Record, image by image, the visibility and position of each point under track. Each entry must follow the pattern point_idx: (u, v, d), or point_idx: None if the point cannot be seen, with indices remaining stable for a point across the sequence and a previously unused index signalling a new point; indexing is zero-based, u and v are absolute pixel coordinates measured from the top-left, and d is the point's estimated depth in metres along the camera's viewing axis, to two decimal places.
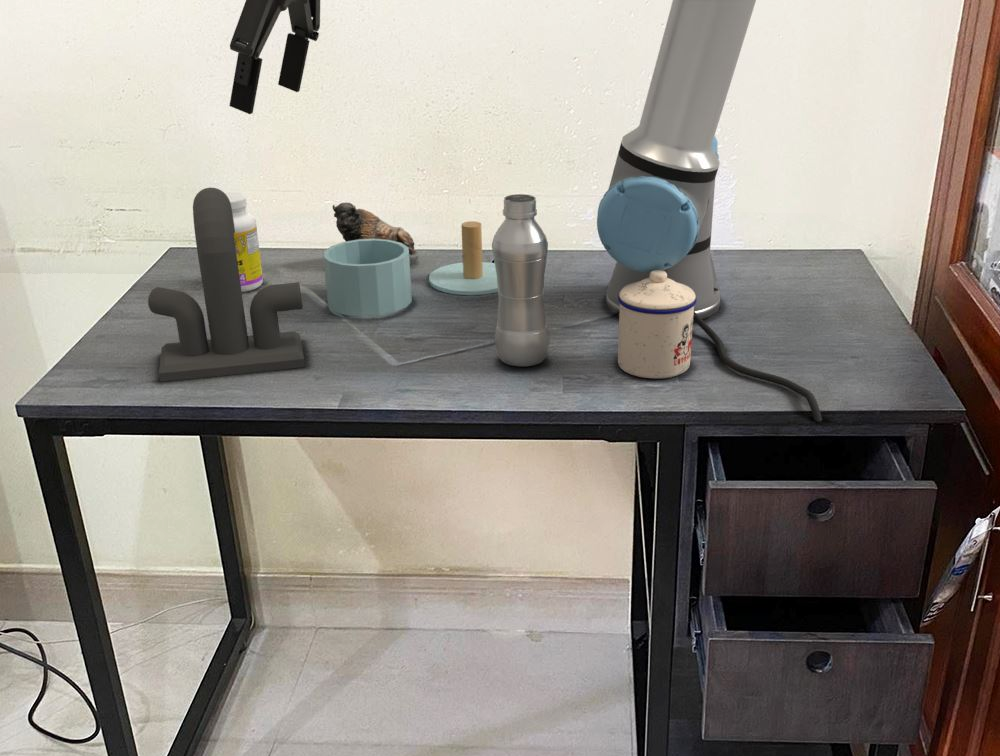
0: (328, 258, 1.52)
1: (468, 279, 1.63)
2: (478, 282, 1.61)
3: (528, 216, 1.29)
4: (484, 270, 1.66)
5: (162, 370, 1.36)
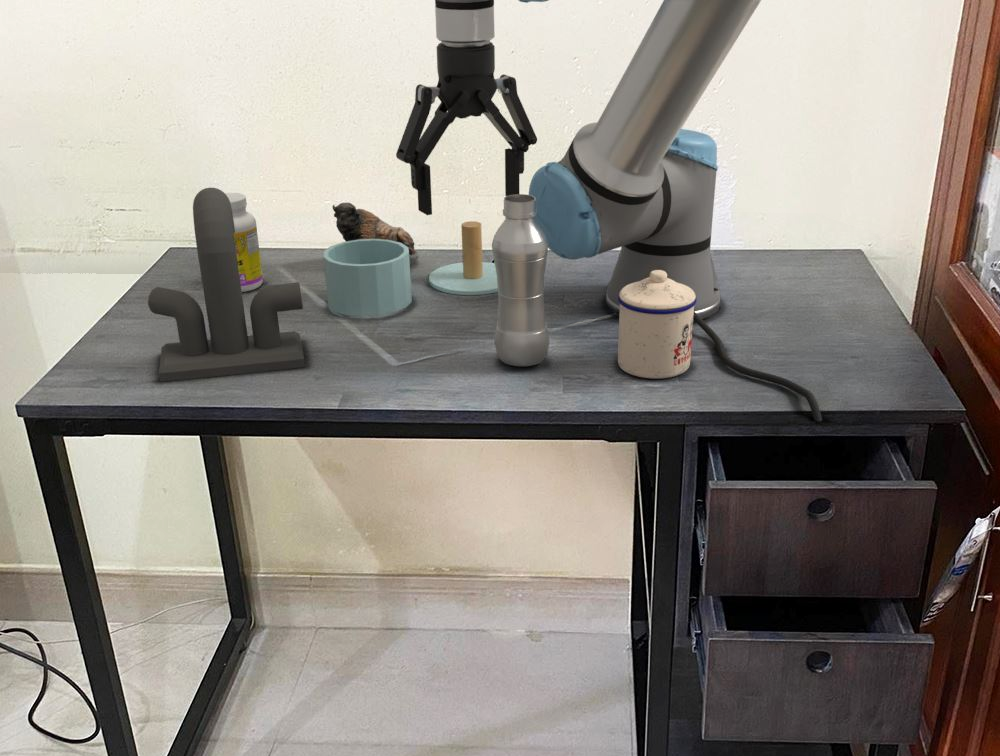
0: (328, 258, 1.52)
1: (468, 279, 1.63)
2: (478, 282, 1.61)
3: (528, 216, 1.29)
4: (484, 270, 1.66)
5: (162, 370, 1.36)
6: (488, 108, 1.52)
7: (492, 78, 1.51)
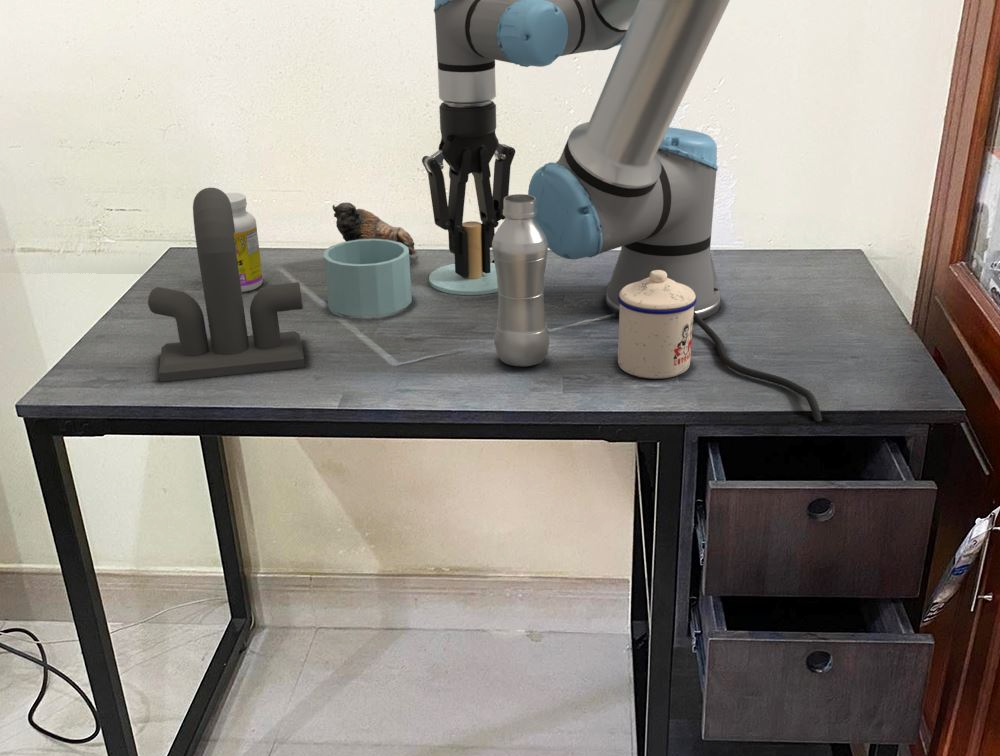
0: (328, 258, 1.52)
1: (468, 279, 1.63)
2: (478, 282, 1.61)
3: (528, 216, 1.29)
4: None
5: (162, 370, 1.36)
6: (482, 168, 1.55)
7: (494, 135, 1.55)
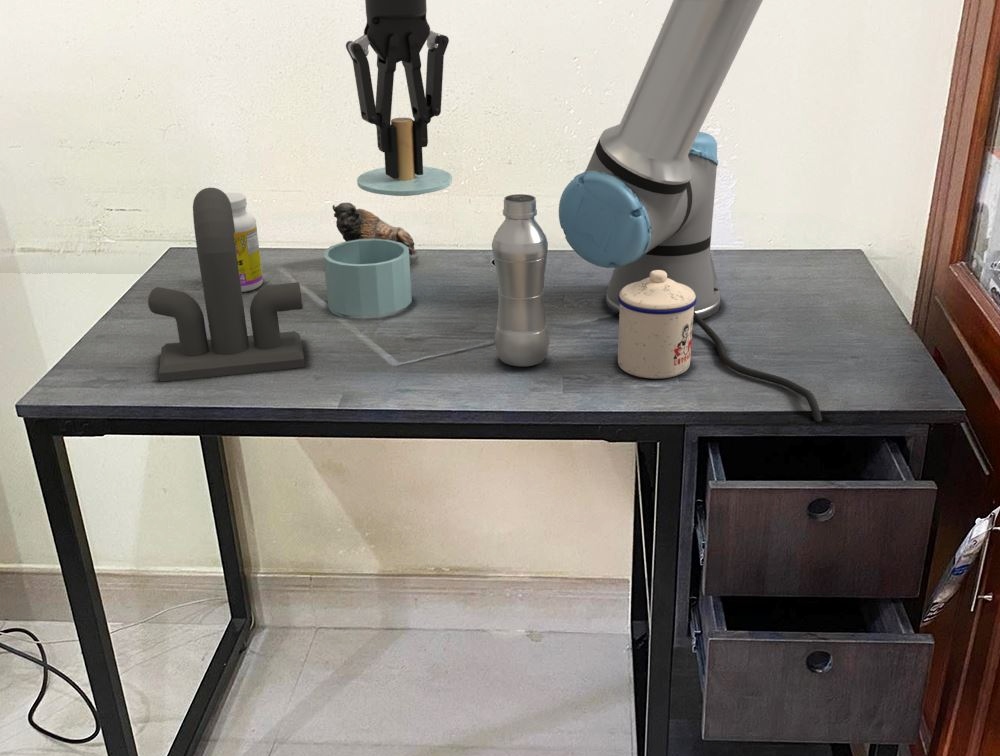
0: (328, 258, 1.52)
1: (398, 180, 1.51)
2: (408, 183, 1.50)
3: (528, 216, 1.29)
4: None
5: (162, 370, 1.36)
6: (412, 56, 1.44)
7: (424, 21, 1.43)
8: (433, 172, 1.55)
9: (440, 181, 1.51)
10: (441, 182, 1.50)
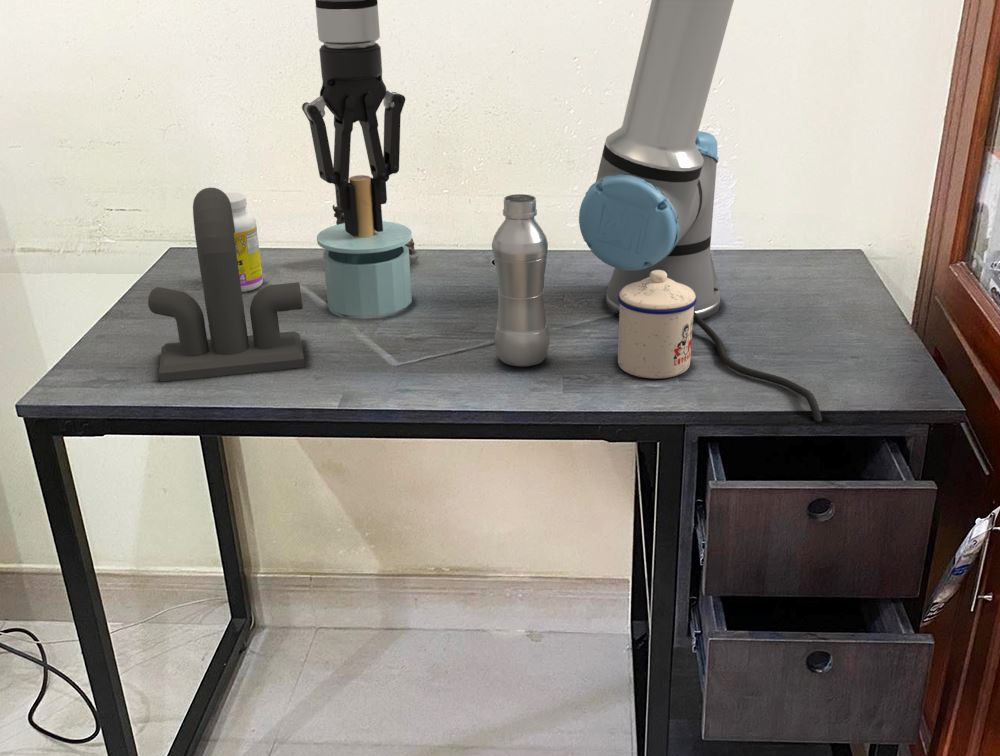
0: (328, 258, 1.52)
1: (358, 237, 1.52)
2: (368, 240, 1.50)
3: (528, 216, 1.29)
4: None
5: (162, 370, 1.36)
6: (368, 116, 1.44)
7: (380, 81, 1.44)
8: (393, 228, 1.55)
9: (400, 238, 1.51)
10: (401, 239, 1.51)
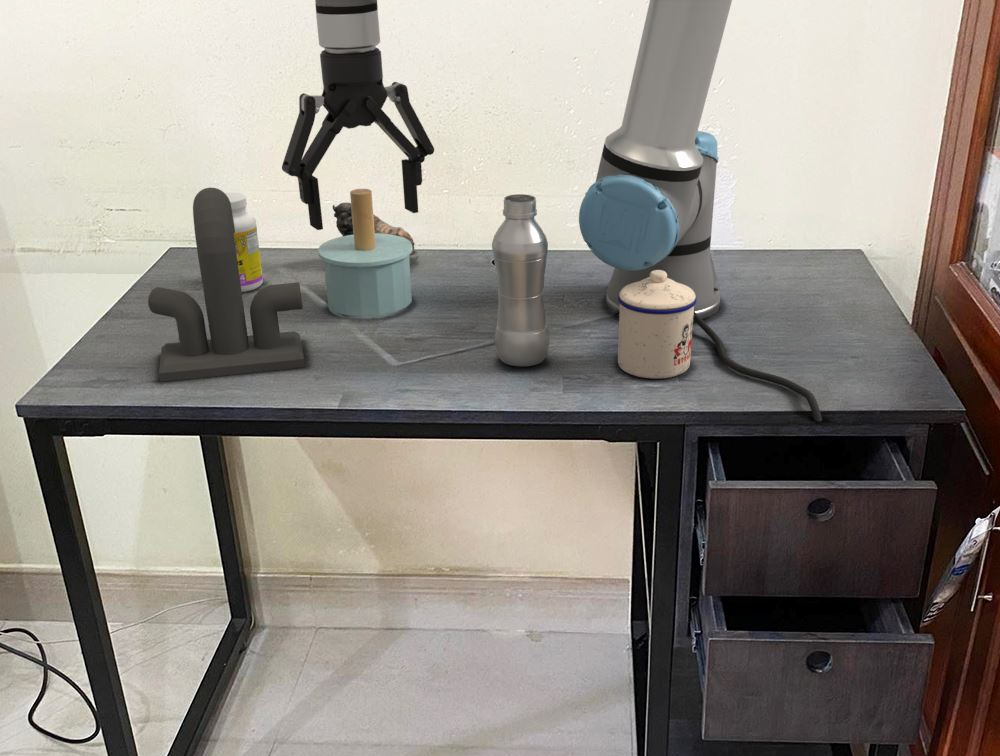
0: None
1: (359, 250, 1.53)
2: (369, 253, 1.51)
3: (528, 216, 1.29)
4: (378, 241, 1.56)
5: (162, 370, 1.36)
6: (378, 117, 1.45)
7: (381, 86, 1.44)
8: (394, 240, 1.56)
9: (400, 250, 1.52)
10: (401, 252, 1.52)
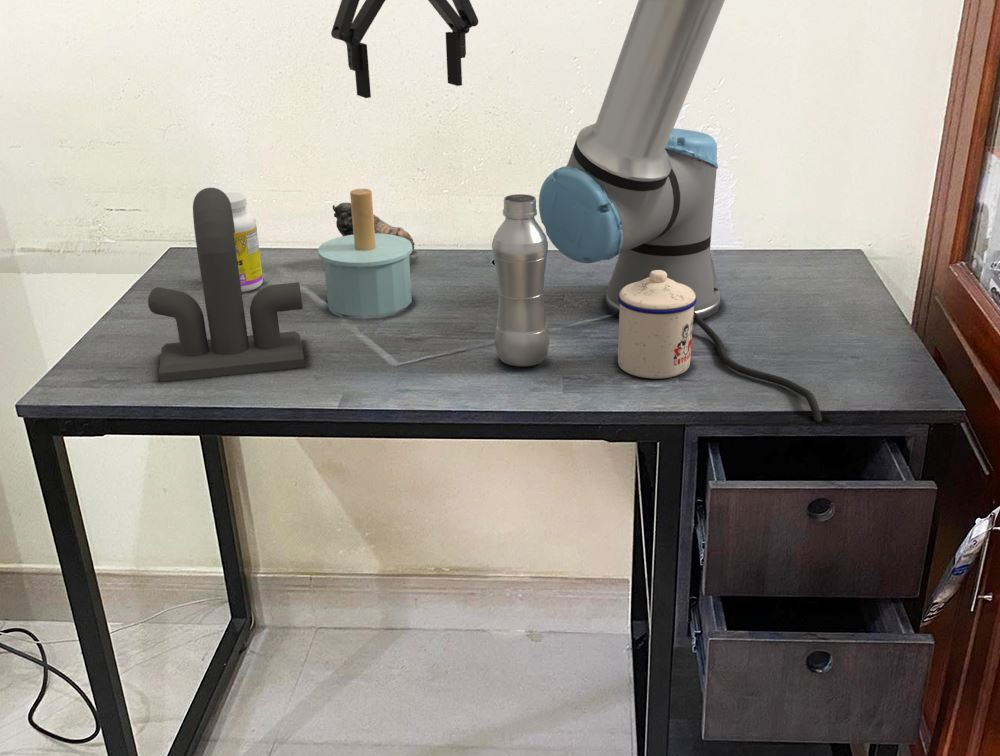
0: None
1: (359, 250, 1.53)
2: (369, 253, 1.51)
3: (528, 216, 1.29)
4: (378, 241, 1.56)
5: (162, 370, 1.36)
6: None
7: None
8: (394, 240, 1.56)
9: (400, 250, 1.52)
10: (401, 252, 1.52)
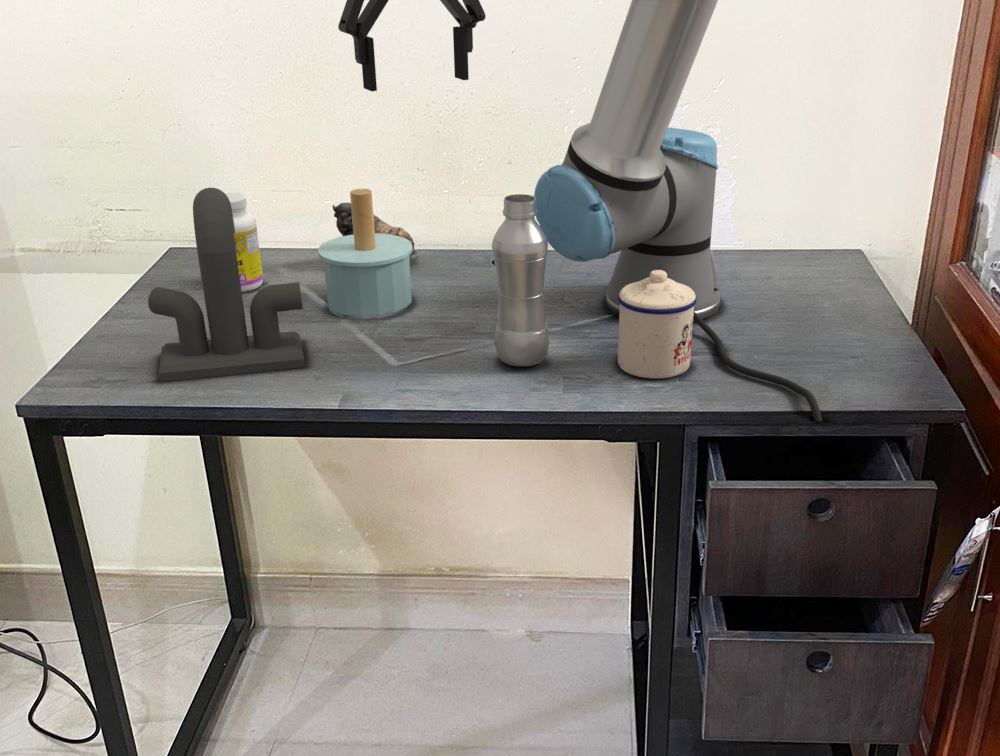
0: None
1: (359, 250, 1.53)
2: (369, 253, 1.51)
3: (528, 216, 1.29)
4: (378, 241, 1.56)
5: (162, 370, 1.36)
6: None
7: None
8: (394, 240, 1.56)
9: (400, 250, 1.52)
10: (401, 252, 1.52)
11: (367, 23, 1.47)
